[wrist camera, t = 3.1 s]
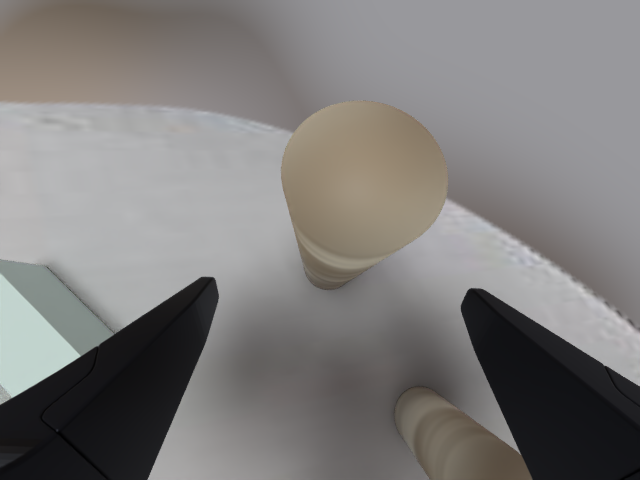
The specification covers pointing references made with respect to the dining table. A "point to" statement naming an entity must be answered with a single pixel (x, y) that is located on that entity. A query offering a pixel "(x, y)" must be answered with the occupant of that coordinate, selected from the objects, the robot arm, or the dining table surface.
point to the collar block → (40, 326)
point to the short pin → (453, 441)
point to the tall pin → (360, 187)
